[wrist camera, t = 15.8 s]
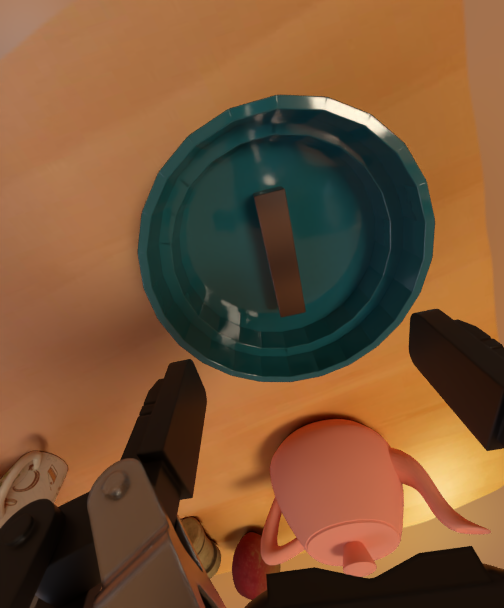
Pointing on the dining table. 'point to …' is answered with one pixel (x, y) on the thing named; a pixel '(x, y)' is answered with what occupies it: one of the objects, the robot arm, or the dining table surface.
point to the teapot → (346, 496)
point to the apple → (251, 567)
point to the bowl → (306, 233)
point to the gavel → (203, 546)
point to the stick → (280, 249)
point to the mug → (30, 482)
